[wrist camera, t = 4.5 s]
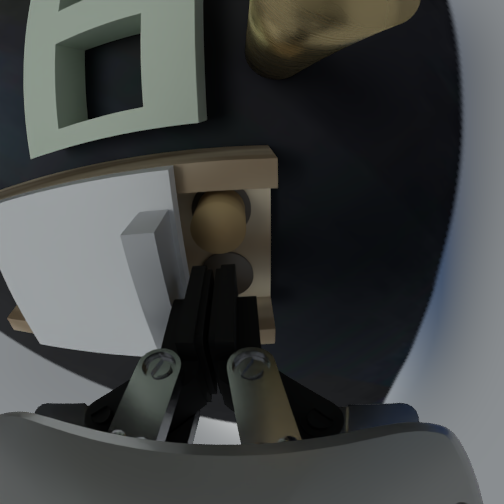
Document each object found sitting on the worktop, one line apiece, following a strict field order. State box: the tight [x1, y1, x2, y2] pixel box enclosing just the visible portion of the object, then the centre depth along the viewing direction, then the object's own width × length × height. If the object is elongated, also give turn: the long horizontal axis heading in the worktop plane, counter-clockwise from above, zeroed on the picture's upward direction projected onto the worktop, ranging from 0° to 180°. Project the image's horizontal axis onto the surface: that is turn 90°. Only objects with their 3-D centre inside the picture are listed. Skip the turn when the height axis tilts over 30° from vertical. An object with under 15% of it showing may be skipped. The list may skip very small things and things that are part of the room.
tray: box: [0, 145, 278, 344], centre depth 14 cm, size 10×20×4 cm, turn 92°
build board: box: [24, 0, 207, 159], centre depth 8 cm, size 13×9×3 cm
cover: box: [0, 165, 190, 356], centre depth 11 cm, size 10×12×3 cm
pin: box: [245, 0, 420, 80], centre depth 6 cm, size 3×3×10 cm
